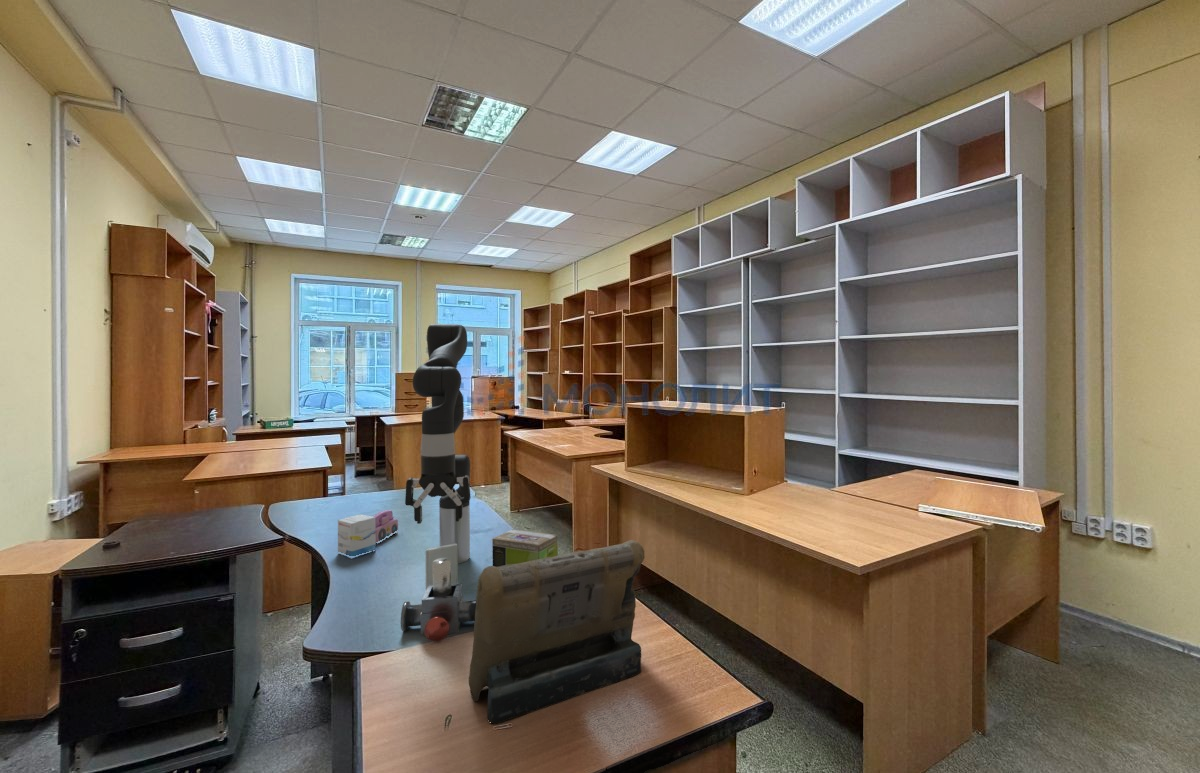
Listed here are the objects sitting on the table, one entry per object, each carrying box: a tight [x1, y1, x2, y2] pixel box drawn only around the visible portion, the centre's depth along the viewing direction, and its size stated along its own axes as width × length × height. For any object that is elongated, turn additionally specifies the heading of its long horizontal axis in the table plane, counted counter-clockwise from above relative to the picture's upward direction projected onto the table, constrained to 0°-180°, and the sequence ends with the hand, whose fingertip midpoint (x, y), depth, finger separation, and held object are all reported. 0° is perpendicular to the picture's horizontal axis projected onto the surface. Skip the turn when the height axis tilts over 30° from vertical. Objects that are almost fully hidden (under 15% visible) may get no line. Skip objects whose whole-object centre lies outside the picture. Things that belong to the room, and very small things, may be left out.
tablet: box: [468, 539, 646, 724], centre depth 88 cm, size 33×14×25 cm, turn 124°
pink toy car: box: [372, 509, 399, 542], centre depth 173 cm, size 18×6×10 cm, turn 173°
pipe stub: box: [432, 558, 452, 597], centre depth 108 cm, size 4×4×10 cm
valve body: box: [400, 582, 477, 642], centre depth 107 cm, size 12×17×8 cm
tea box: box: [491, 528, 559, 567], centre depth 127 cm, size 15×10×15 cm
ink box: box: [337, 513, 377, 556], centre depth 157 cm, size 8×8×12 cm
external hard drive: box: [424, 544, 459, 591], centre depth 126 cm, size 2×8×12 cm, turn 123°
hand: (438, 521), depth 110 cm, fingers open, 8 cm apart
